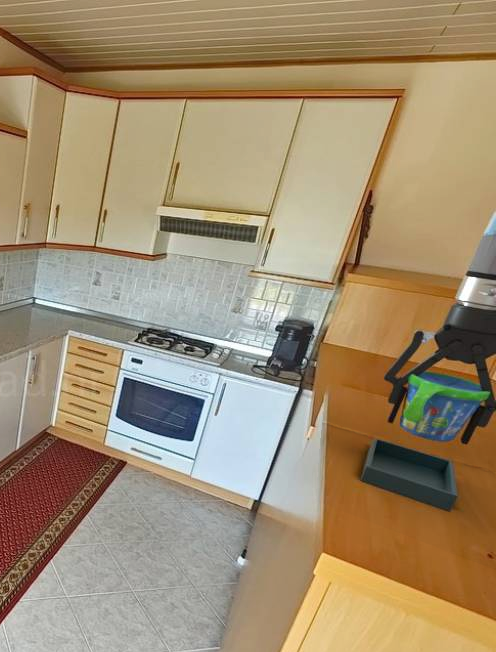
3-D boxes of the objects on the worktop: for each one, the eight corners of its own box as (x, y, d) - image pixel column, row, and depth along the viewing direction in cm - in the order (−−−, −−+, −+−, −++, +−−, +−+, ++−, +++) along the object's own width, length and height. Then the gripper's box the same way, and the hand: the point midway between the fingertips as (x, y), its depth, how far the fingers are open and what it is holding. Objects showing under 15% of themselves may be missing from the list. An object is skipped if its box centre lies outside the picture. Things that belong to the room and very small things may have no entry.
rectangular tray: (446, 475, 93) (453, 461, 92) (450, 511, 80) (458, 496, 79) (368, 450, 100) (374, 437, 99) (360, 480, 87) (366, 466, 86)
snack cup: (429, 451, 79) (457, 393, 76) (364, 423, 89) (386, 370, 85) (486, 445, 85) (515, 390, 81) (419, 419, 94) (442, 369, 90)
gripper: (397, 294, 82) (349, 415, 90) (591, 325, 69) (515, 462, 77) (399, 291, 88) (353, 405, 96) (579, 319, 75) (509, 448, 83)
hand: (425, 430), depth 86 cm, fingers closed on snack cup, 9 cm apart
